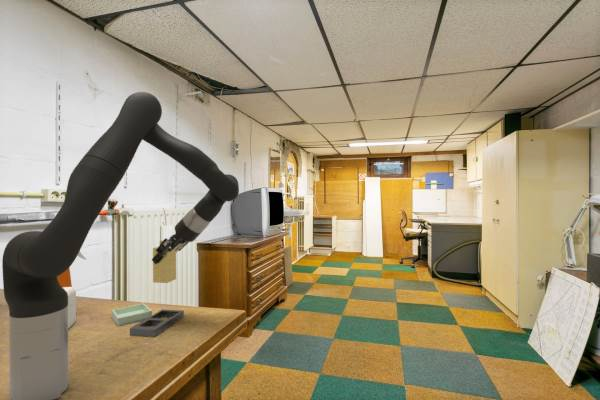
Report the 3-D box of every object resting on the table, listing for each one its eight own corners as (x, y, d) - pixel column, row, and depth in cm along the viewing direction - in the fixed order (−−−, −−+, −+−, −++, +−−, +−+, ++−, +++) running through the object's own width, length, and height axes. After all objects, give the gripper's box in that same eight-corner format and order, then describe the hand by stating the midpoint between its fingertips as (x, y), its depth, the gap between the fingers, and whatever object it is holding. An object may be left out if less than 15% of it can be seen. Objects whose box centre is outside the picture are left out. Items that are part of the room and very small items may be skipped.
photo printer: (64, 333, 92) (64, 292, 92) (47, 335, 90) (47, 293, 90) (78, 320, 102) (77, 283, 102) (62, 322, 100) (62, 284, 100)
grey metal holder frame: (183, 316, 105) (183, 310, 105) (154, 337, 89) (154, 330, 89) (162, 315, 106) (162, 309, 106) (129, 335, 91) (129, 328, 91)
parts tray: (151, 318, 103) (151, 310, 103) (117, 326, 97) (117, 318, 97) (143, 310, 111) (143, 303, 111) (111, 317, 104) (111, 309, 104)
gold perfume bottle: (176, 279, 103) (176, 240, 103) (167, 282, 98) (167, 242, 98) (162, 278, 104) (162, 239, 104) (153, 282, 99) (152, 241, 99)
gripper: (196, 214, 107) (164, 248, 109) (173, 216, 93) (137, 255, 95) (211, 230, 106) (178, 264, 108) (189, 234, 92) (153, 273, 94)
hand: (159, 260), depth 101 cm, fingers closed on gold perfume bottle, 5 cm apart
